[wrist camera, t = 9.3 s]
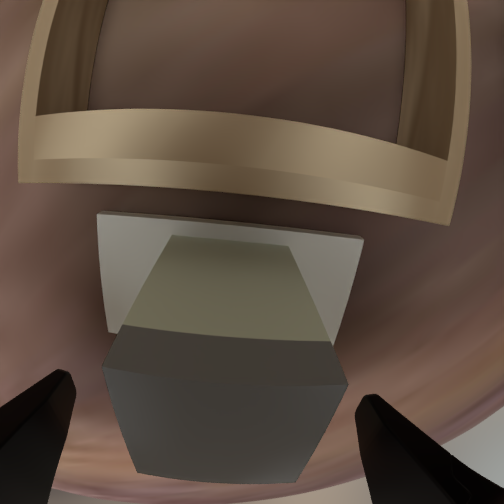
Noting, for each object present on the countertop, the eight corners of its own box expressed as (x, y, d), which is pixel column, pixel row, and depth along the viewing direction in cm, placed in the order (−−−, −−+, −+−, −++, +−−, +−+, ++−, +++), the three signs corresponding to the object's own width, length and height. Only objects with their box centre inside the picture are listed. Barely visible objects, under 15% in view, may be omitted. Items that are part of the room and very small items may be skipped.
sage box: (288, 246, 13) (348, 384, 6) (271, 338, 15) (295, 482, 7) (171, 234, 13) (101, 366, 5) (171, 330, 14) (137, 472, 7)
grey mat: (359, 235, 14) (364, 239, 13) (328, 344, 16) (331, 350, 15) (101, 210, 12) (96, 214, 12) (112, 325, 15) (108, 332, 14)
